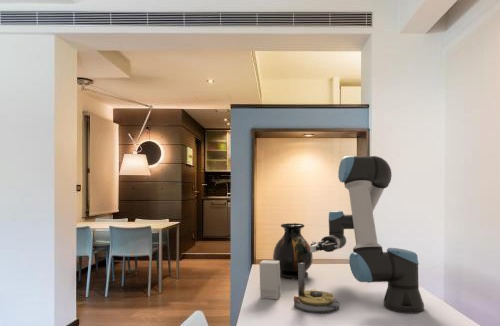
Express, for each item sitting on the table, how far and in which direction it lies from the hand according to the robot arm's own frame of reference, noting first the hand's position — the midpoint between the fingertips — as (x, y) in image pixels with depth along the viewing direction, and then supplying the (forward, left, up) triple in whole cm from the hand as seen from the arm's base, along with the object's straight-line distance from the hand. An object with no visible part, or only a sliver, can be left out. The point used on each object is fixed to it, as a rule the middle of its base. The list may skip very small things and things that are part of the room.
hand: (311, 249), depth 165 cm
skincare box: (+11, +15, -21) cm, 28 cm away
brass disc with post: (-9, +6, -19) cm, 22 cm away
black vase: (+35, -17, -21) cm, 44 cm away
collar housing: (-9, +6, -21) cm, 24 cm away
